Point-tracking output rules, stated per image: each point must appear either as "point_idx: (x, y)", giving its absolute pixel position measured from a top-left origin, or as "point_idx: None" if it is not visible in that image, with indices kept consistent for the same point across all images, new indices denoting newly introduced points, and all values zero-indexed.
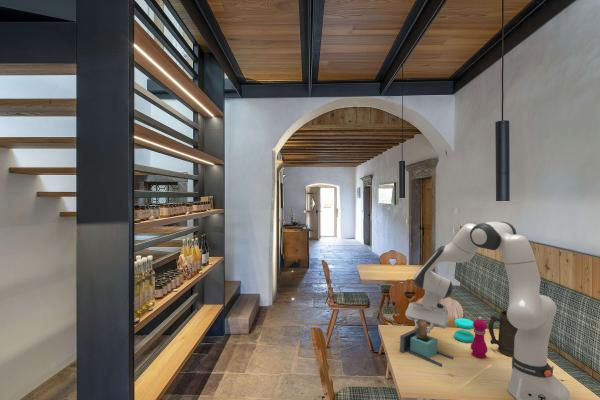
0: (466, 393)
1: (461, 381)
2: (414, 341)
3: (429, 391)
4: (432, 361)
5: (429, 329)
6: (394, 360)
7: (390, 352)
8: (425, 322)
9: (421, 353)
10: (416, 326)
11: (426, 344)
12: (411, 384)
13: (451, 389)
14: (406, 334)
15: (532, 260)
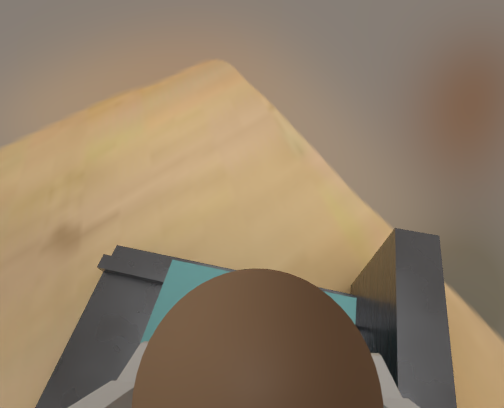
0: (18, 144)
1: (21, 211)
2: None
3: (148, 91)
4: (157, 266)
5: (124, 373)
6: (353, 199)
7: None
8: (162, 327)
9: None
10: None
11: (183, 262)
12: (212, 92)
13: (72, 137)
14: (420, 307)
15: None
